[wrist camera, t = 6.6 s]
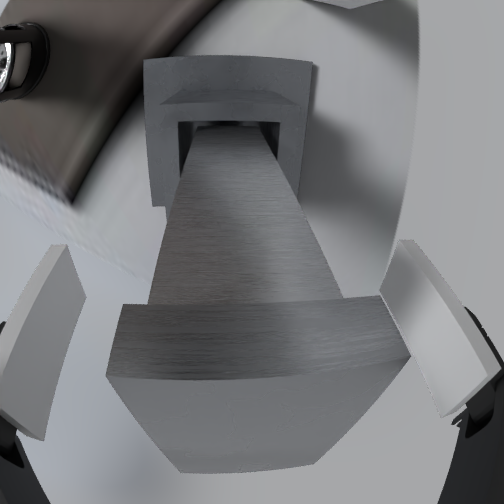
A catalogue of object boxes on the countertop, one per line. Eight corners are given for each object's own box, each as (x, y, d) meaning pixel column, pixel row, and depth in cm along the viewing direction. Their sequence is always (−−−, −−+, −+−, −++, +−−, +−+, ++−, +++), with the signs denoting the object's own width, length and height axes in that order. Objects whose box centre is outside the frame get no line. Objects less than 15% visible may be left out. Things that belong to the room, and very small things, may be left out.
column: (197, 110, 20) (105, 375, 3) (258, 110, 20) (411, 356, 4) (198, 194, 24) (180, 472, 8) (253, 193, 24) (313, 464, 8)
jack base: (145, 59, 23) (99, 61, 13) (309, 61, 24) (363, 65, 15) (154, 202, 32) (128, 272, 22) (294, 201, 34) (325, 268, 24)
